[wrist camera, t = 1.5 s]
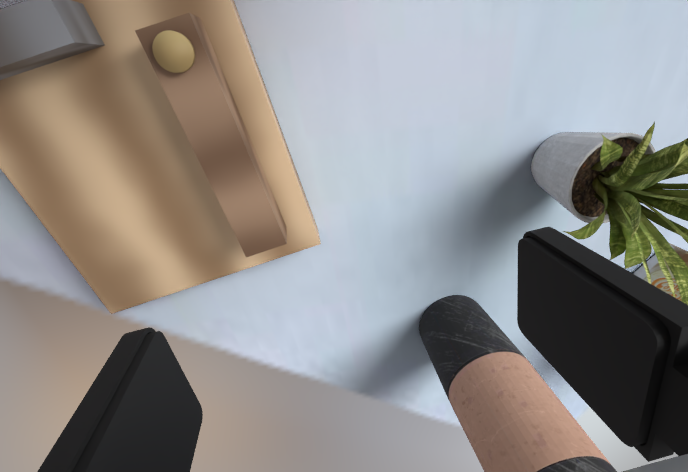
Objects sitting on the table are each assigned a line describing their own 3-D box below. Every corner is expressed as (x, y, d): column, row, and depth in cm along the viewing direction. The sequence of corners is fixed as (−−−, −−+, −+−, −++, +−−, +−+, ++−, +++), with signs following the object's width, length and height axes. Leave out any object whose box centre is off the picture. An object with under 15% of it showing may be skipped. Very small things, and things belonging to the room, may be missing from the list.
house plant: (619, 225, 37) (836, 330, 22) (490, 255, 36) (628, 384, 22) (647, 75, 31) (975, 86, 16) (491, 108, 30) (687, 151, 15)
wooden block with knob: (219, -38, 23) (198, -71, 18) (317, 228, 32) (324, 265, 27) (-47, 50, 23) (-158, 46, 17) (125, 293, 32) (90, 343, 26)
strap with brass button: (153, 34, 22) (130, 29, 18) (201, 18, 22) (186, 11, 18) (250, 239, 28) (245, 261, 25) (286, 226, 28) (286, 247, 25)
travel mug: (406, 311, 38) (515, 534, 20) (474, 281, 37) (647, 480, 20) (428, 359, 41) (537, 585, 23) (490, 331, 41) (650, 540, 23)
